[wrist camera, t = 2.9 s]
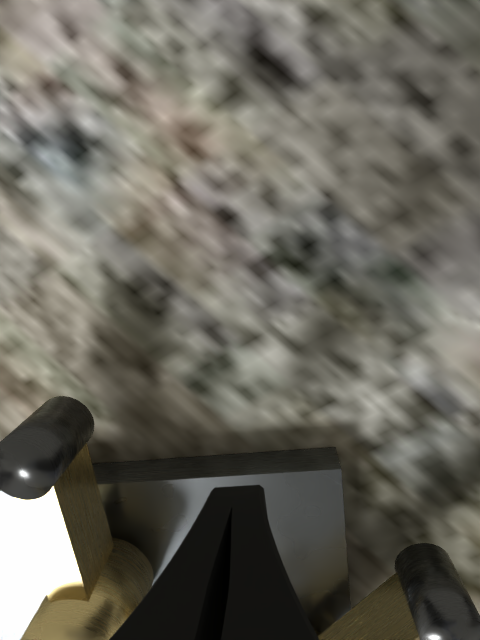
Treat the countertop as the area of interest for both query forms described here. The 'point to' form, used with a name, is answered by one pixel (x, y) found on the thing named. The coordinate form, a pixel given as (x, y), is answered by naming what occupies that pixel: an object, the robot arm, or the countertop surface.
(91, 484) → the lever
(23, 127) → the countertop surface
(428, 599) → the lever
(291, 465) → the plate
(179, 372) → the countertop surface
